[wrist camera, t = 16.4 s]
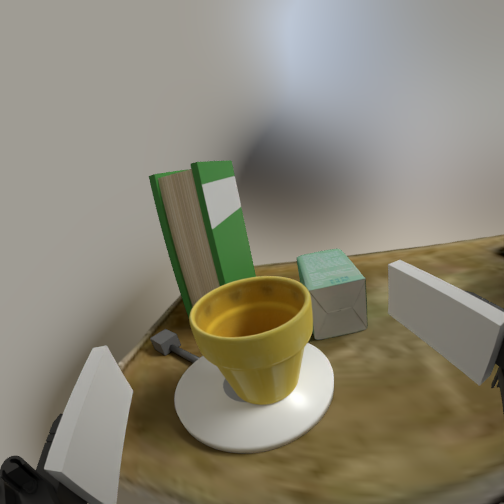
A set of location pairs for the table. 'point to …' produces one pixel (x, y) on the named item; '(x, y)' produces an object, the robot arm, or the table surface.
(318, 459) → the table surface
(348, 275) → the box
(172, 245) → the hardback book
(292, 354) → the plant pot
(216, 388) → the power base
